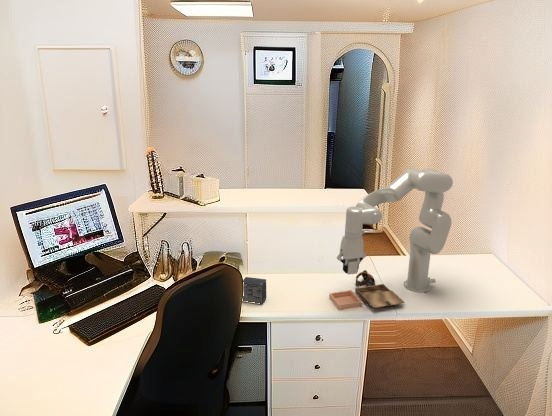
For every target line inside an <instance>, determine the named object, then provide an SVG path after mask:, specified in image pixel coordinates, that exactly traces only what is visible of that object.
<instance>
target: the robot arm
mask: <svg viewBox="0 0 552 416" xmlns="http://www.w3.org/2000/svg"><path fill="white" fill-rule="evenodd" d="M453 182H454V181H453V177H452V176H451V175H450V174H448V173H445V172H441V171H438V170H435V169H433V168H432V169H431V168H424V169H421V170H420V169H418V168H412V167H411V168H408V169H406V170H405V171H403V172H402V173H401V174H400V175H398V177H396V178H395V179H394V180H393V181H391V182H390V183H389V184H388V185H387V186H385V187H383V188H379V189H376V190H374V191H372V192H370V193H368V194H366V195H365V196H364V197H362V198H361V199H360V201H358V202H357V203H356V205H355V206H349V207H348V208H347V209H346V211H345V224H344V225H345V226H344V227H345V228H344V235H343V236H342V239H341V243H340V248H339V254H338V255H337V256H336V259H337V261H338V262H339V261H340V263H342V271H343V272H344V273H345V274H347V273H348V265H347V263H348V260H349V259H356V260H357V261H358V269H357V273H358V272H359V268H360V267H359V266H360V264H361V262H363V260H364V259H365V258H366V257H367V255H366V253H365V251H364V250H365V248H364V247H365V246H364V245H365V244H364V237H363V235H364V234H365V231H364V230H363V227H364V226H363V225H375V224H379V223H380V222H381V220H382V219H383V213H382V211H381V210H380V209H379V208H377V207H376V206H378V205H382V204H384V203H397V202H400V201H402V199H403V198H405V197H406V196H407V195H408V194H409V193H410V192H411V191H413V190H417V191H419V192H424V199H423V202H422V206H421V207H420V212H419V215H418V221H419V222H420V223H421V224H422V225H423V226H415V227H413V228H412V230H410V233H409V236H408V238H409V239H408V241H409V257H408V268H407V270H408V271H407V279H406V280H405V281H404V282H403V287H404V288H405V289H406V290H408V291H411V292H415V293H424V294H425V293H427V292H429V291H430V290H431V286H430V284H433V283H434V284H435V283H436V279H435V278H431V277H429V271H430V261H431V254H432V255H436V254H439V253H440V252H441V251H443V249H444V247H445V245H446V242H447V239H448V237H449V233H450V230H451V227H452V217H451V216H450V213H447V212H446V211H443V210H442V207H443V203H444V199H445V194H444V193H447V192H448V191H449V190H451V189H452V187H453V184H454V183H453ZM424 226H426V227H427V228H426V227H424ZM428 228H429V229H428ZM430 229H431V230H430Z"/></svg>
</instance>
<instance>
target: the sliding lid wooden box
mask: <svg viewBox="0 0 552 416" xmlns="http://www.w3.org/2000/svg"><path fill="white" fill-rule="evenodd" d="M354 289H355V290H354V294H355V295H356V296H357V297H358V298H359V299H360V300H361V301H362V303H364V304H365V305H370V306H371V307H372V308H373V309H376V308H377V309H378V308H383V307H389V306H394V305H401V304H405V301H404V300H403V299H402V298H401V297H399V295H398V294H397V293H395V291H393V290H390V288H388V286H386V285H385V284H384V283H381V284H375V285H374V284H373V285H368V286H360V287H355V288H354Z"/></svg>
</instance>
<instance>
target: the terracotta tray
mask: <svg viewBox="0 0 552 416" xmlns="http://www.w3.org/2000/svg"><path fill="white" fill-rule="evenodd" d="M328 297H329V300H330V301H331V302H332V304H333V305H334V306H335V307H336V308H337V310H338V311H343V310H349V309H355V308H360V307H362V303H363V301H362V300H361V299H360V298H359V297H358V296H357V294H356V293H355V292H354V291H353V290H352V289H351V290H343V291H337V292H331V293H330V292H329V295H328Z"/></svg>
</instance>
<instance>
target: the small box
mask: <svg viewBox="0 0 552 416" xmlns="http://www.w3.org/2000/svg"><path fill="white" fill-rule="evenodd" d="M242 281H243V282H244V296H243V301H248V302H255V303H260V304H259V305H261V304H263V303H264V304H265V302H266V301H267V299H268V298H267V279H265V278H259V277H251V276H250V277H249V276H246V277H244V278H243V280H242ZM266 298H267V299H266ZM264 304H263V305H264Z"/></svg>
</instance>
